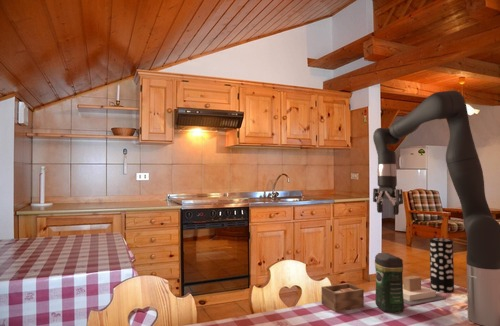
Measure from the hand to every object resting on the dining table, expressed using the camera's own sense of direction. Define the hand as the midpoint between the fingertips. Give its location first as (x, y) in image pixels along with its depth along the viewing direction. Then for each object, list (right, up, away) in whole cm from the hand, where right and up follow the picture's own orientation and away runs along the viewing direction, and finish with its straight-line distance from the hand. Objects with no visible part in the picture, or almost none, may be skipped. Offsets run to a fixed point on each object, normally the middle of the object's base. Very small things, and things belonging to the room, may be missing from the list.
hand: (387, 213), depth 142 cm
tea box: (-25, -29, -23) cm, 45 cm away
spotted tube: (+20, -30, -5) cm, 37 cm away
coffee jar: (-10, -29, -26) cm, 40 cm away
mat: (+4, -30, -13) cm, 32 cm away
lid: (+4, -29, -13) cm, 32 cm away
